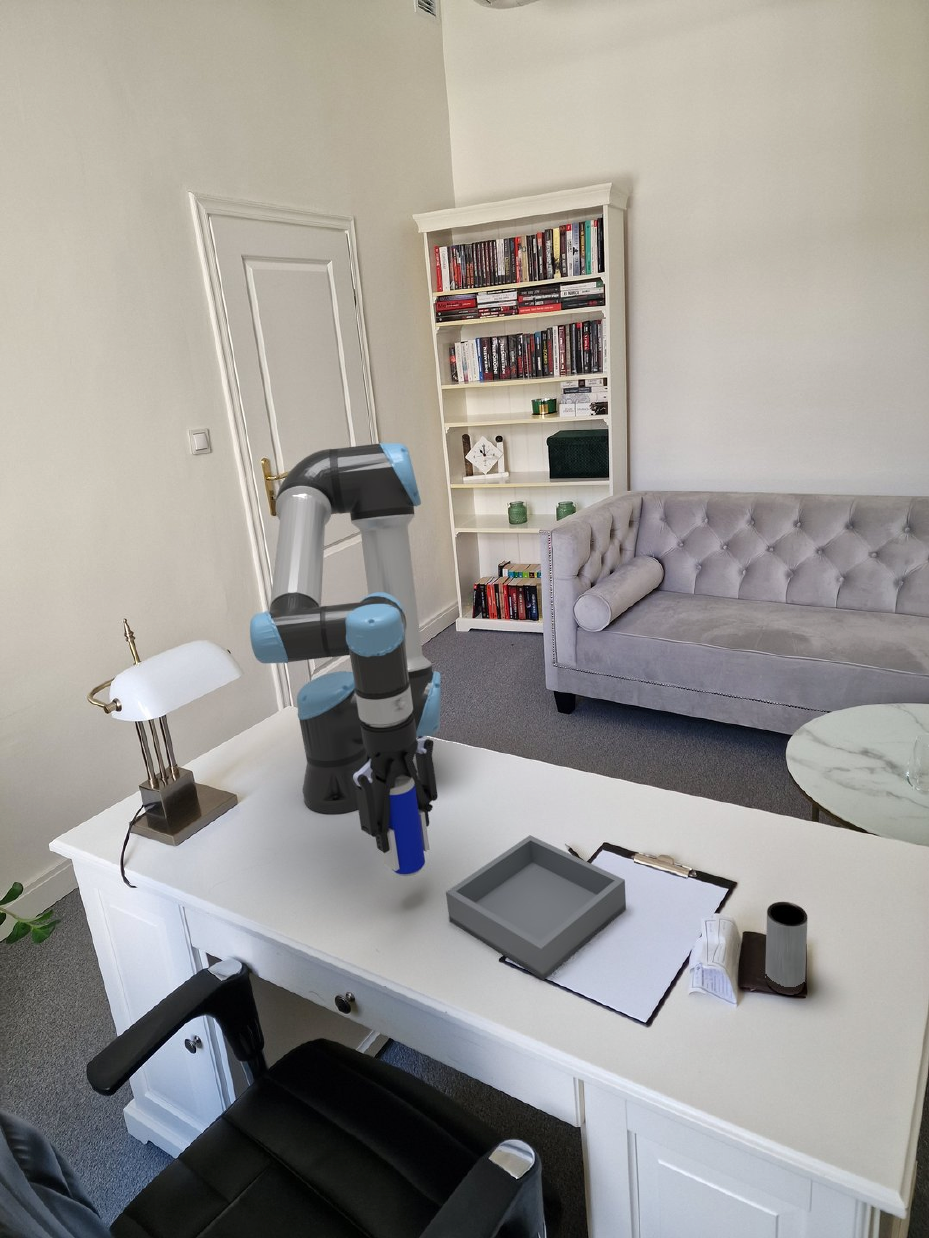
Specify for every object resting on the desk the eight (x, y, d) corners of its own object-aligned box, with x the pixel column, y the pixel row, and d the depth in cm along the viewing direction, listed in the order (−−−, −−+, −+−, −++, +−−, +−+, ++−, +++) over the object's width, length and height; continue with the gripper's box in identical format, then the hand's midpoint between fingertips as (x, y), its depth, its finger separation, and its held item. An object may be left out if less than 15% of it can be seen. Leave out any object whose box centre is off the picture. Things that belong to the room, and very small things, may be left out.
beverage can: (429, 857, 122) (418, 770, 116) (419, 879, 117) (406, 790, 112) (397, 854, 123) (385, 768, 118) (385, 876, 118) (372, 787, 113)
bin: (449, 920, 117) (445, 891, 115) (532, 862, 128) (529, 834, 127) (543, 980, 104) (541, 948, 103) (626, 909, 116) (624, 879, 114)
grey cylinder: (758, 984, 100) (760, 915, 97) (775, 963, 103) (777, 896, 100) (794, 1002, 97) (797, 931, 94) (811, 980, 100) (814, 911, 97)
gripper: (349, 750, 103) (374, 899, 111) (453, 698, 115) (468, 837, 122) (316, 733, 108) (342, 877, 116) (418, 686, 120) (435, 819, 128)
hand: (406, 856), depth 119 cm, fingers closed on beverage can, 5 cm apart
